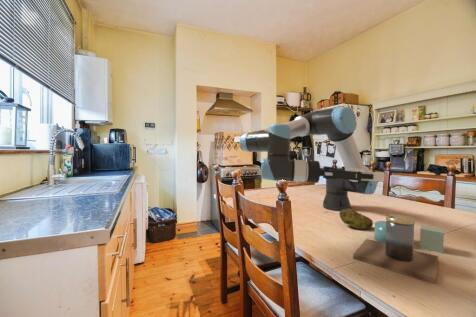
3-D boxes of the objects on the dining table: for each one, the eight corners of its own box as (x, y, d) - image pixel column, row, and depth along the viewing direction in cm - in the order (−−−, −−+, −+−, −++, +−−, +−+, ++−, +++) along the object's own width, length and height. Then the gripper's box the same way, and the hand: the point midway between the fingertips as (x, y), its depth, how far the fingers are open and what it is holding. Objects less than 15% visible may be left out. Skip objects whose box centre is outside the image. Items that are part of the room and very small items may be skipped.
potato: (370, 233, 92) (371, 214, 92) (337, 227, 100) (337, 209, 100) (373, 227, 98) (373, 209, 98) (342, 222, 106) (342, 205, 106)
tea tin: (382, 256, 70) (384, 217, 69) (387, 248, 75) (388, 212, 74) (411, 264, 65) (413, 223, 64) (414, 255, 70) (415, 217, 70)
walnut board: (353, 258, 72) (353, 253, 72) (366, 242, 83) (366, 238, 83) (435, 284, 58) (435, 278, 58) (438, 260, 70) (438, 256, 70)
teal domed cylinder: (371, 241, 85) (371, 225, 85) (377, 233, 92) (378, 219, 92) (403, 249, 78) (404, 232, 78) (407, 240, 85) (408, 225, 85)
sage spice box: (419, 248, 79) (420, 228, 78) (421, 243, 82) (421, 225, 82) (442, 253, 74) (443, 233, 74) (443, 248, 78) (443, 229, 78)
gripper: (301, 178, 88) (358, 181, 85) (312, 187, 64) (393, 193, 60) (302, 159, 88) (359, 162, 85) (313, 161, 64) (394, 165, 60)
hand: (373, 175), depth 73 cm, fingers open, 13 cm apart
